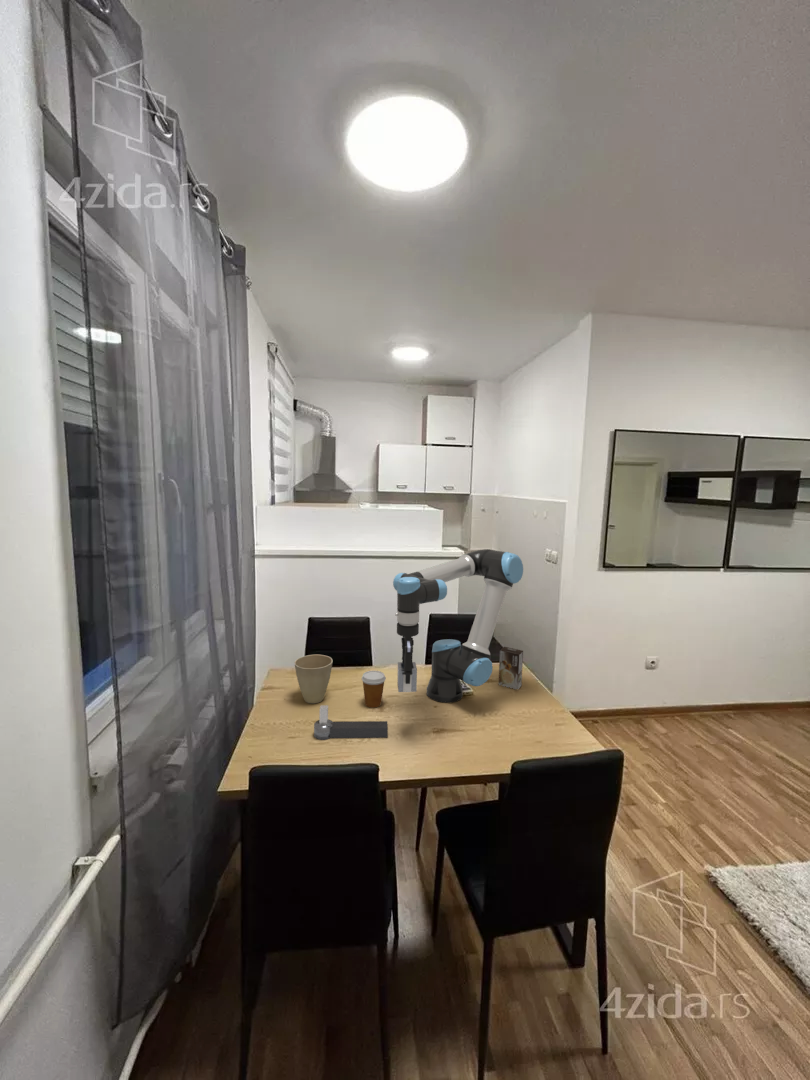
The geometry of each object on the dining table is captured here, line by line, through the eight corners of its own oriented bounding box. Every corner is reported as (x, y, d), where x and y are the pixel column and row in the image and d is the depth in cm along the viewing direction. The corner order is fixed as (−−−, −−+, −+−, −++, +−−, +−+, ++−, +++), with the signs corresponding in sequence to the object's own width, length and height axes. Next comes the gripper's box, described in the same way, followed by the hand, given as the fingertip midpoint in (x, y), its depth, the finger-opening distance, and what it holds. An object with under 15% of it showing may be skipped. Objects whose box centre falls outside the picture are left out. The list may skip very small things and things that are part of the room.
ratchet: (386, 729, 155) (387, 702, 154) (387, 739, 149) (388, 711, 148) (315, 729, 154) (315, 702, 153) (312, 740, 147) (313, 711, 146)
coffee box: (522, 685, 195) (524, 650, 194) (517, 690, 190) (520, 654, 188) (502, 680, 200) (504, 646, 198) (497, 685, 195) (499, 650, 193)
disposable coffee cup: (381, 711, 168) (382, 681, 167) (357, 708, 170) (358, 678, 169) (387, 699, 177) (388, 671, 176) (364, 697, 179) (365, 668, 178)
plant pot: (326, 688, 186) (326, 652, 184) (336, 704, 172) (337, 665, 171) (290, 694, 179) (291, 657, 178) (298, 711, 166) (298, 671, 164)
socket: (414, 683, 155) (415, 662, 154) (416, 691, 149) (416, 669, 148) (397, 683, 155) (397, 662, 154) (398, 692, 149) (398, 669, 148)
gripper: (395, 614, 159) (394, 675, 161) (398, 631, 140) (397, 700, 142) (416, 614, 159) (414, 675, 162) (421, 631, 140) (420, 700, 143)
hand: (406, 686), depth 152 cm, fingers closed on socket, 6 cm apart
